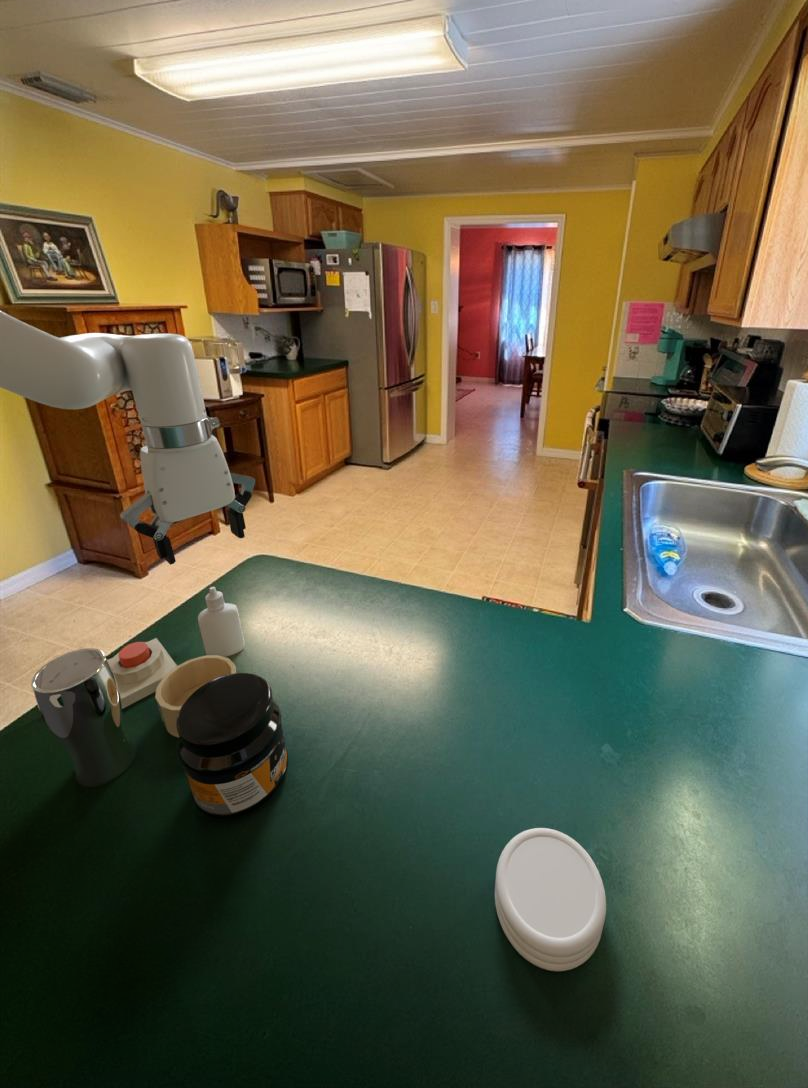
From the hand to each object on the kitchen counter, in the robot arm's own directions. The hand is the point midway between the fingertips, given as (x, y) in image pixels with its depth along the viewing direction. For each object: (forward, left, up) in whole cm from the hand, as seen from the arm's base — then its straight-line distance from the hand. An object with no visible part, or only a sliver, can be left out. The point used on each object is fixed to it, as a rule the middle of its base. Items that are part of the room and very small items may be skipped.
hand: (205, 547), depth 68 cm
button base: (-4, -11, -19) cm, 23 cm away
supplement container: (+23, -8, -19) cm, 31 cm away
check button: (-4, -11, -16) cm, 20 cm away
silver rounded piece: (+9, -19, -19) cm, 28 cm away
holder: (+9, -7, -19) cm, 22 cm away
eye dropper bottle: (0, 0, -19) cm, 19 cm away
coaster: (+56, +6, -19) cm, 59 cm away
